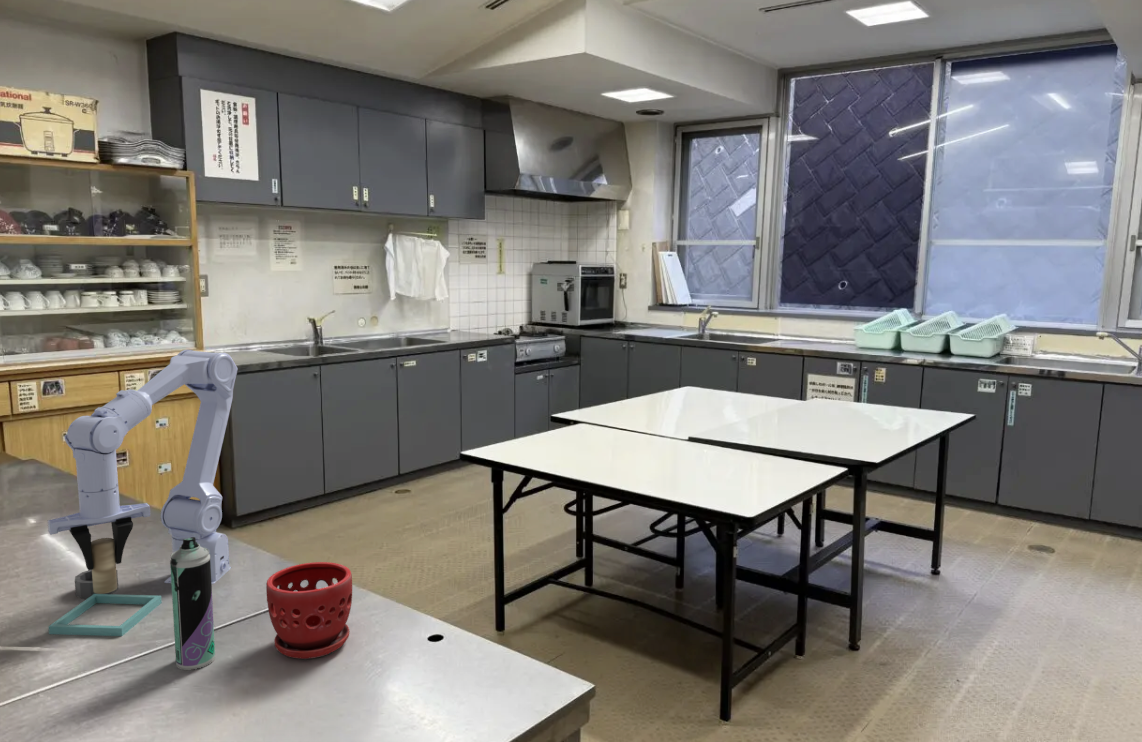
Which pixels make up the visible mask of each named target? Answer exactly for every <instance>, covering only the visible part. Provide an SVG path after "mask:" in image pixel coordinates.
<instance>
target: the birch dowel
mask: <svg viewBox="0 0 1142 742" xmlns="http://www.w3.org/2000/svg"><path fill="white" fill-rule="evenodd" d="M91 554H92V560H93V569H92V578H93V592H94V593H96V594H104V593H109V592H112V591H114V590H116V589H117V573H118V572H117V573H116V570H117V564H116V558H115V543H114V539H113V538H112V537H101V538H97V539H94V540H91ZM117 590H118V589H117ZM117 590H116V591H117Z"/></svg>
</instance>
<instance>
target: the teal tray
mask: <svg viewBox="0 0 1142 742" xmlns="http://www.w3.org/2000/svg"><path fill="white" fill-rule="evenodd" d="M162 601H163V600H162V595H154V594H153V595H150V594H149V595H146V594H118V593H117V594H114V593H112V594H93V595H92V596H90V597H89V598H88V599H84V600H83V601H82V602H80V603H79V604H78V605H76V606H75V607H74V608H72V609H70V610H69V611H68V612H66V613H65V614H64V615H62V616H60V618H58V619H56V620H55V621H54V622H52V623H51V624H50V625H48V626H47V628H48V635H73V636H74V635H75V636H98V637H99V636H101V637H103V636H104V637H123V636H124V635H126V634H127V633H128V632H129V631H130V630H131V629H132V628H134V627H135V626H136V625H137V624H139V622H141V621H142V620H143V619H145V617H147V616H148V615H149V614H150V613H152V612H153V610H155V609H156V608H158V607H159V606H160V605H161V604H162ZM96 604H113V605H114V604H117V605H119V604H120V605H143V606H142V607H141V608H140V609H139V610H137V611H136V612H134V614H132V615H131V616H130V617H129V618H128V619H126V620H125V621H124V622H122V624H120V625H104V624H103V625H101V624H100V625H99V624H97V625H96V624H70V623H72V622H73V621H74V620H76V619H77V618H78V617H80V616H81V615H82V614H84V613H85V612H86V611H89V609H90V608H91V607H93V606H94V605H96Z"/></svg>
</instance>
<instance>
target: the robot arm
mask: <svg viewBox="0 0 1142 742" xmlns="http://www.w3.org/2000/svg"><path fill="white" fill-rule="evenodd" d="M238 370H239V369H238V366H237V364H236V363H235V361H234V360H233V358H232V356H231V355H230V354H229V353H227V352H221V351H220V352H212V351H211V352H210V351H200V350H193V349H183V350H181V351H180V352H179V353H177V355H174V356H172V357H171V358H170V360H169V363H168V364H167V366H165V367H164V368H163V369H162V370H160V371H159V372H158V373H157V374H156V375H155V376H153V377H152V378H150V380H149V381H147V382H146V383H144V384H143V385H142V386H141V387H140V388H139V389H137V390H135V389H132V388H131V389H127V390H123V389H121V390H119V391H118V392H117V393H115V397H114V398H113V399H111V400H110V401H109V402H107V403H105V404H104V405H103V406H101V407H100V406H98V407H97V408H96V409H94V412H92V414H91V415H82V416H79V417H77V418H75V419H74V420H73V421H72V422H71V423H70V425H69V426H68V428H67V434H65V435H64V441H65V443H66V445H67V446H68V447H69V448H70V449H71V450H72V457H73V459H74V460H75V464H76V465H75V467H76V481H77V491H78V492H77V494H78V504H79V505H78V507H79V511H78V512H75V513H73V514H68V515H65V516H61V517H56V518H52V519H48V520H47V529H48V530H47V531H48V534H49V535H50V536H52V535H56V534H59V533H61V532H67V531H69V532H70V534H71V535H72V537H73V538H74V540H75V542H76V543H77V545H78V546H79V549H80V551H81V553H82V556H83V559H84V562H85V567H86V569H87V571H88V570H92V569H93V560H92V554H91V542H92V535H91V532H90V529H89V527H93V526H94V527H95V526H99V525H103V524H109V523H111V529H112V537H113V539H114V543H115V558H116V565H120V564H122V560H123V559H122V557H123V554H124V553H123V552H124V549H125V545H126V542H127V540H128V538H129V535H130V534H131V532H132V530H133V527H134V522H133V521H132V519H136V518H141V517H143V518H148V517H151V507H150V505H149V504H148V503H147V502H145V503H136V504H126V505H125V504H123V505H120V493H119V492H120V491H119V489H120V488H119V479H118V478H119V476H118V463H117V461H118V459H117V450H118V449H119V448H120V447H121V445H122V444H123V441H124V438H125V436H126V435H127V434H128V432H129V431H131V430H133V428H135V427H136V426H137V425H139V424H141V422H142V421H144V420H145V419H147V418H148V417H149V416H151V414H152V410H153V409H152V408H153V407H152V406H153V405H155V404H157V402H159V401H161V400H162V399H164V398H165V397H167V396H168V395H170V394H172V393H173V392H175V391H176V390H178V389H179V388H181V387H183V386H184V385H185V386H186V387H187V388H188V389H189V390H191V392H192V393H194V394H195V395H196V396H197V398H198V399H199V400H200V401H199V402H200V405H199V410H198V412H197V417H196V422H195V426H194V430H193V435H192V440H191V443H190V447H189V452H188V456H187V460H186V464H185V468H184V471H183V477H182V481H181V482H180V483H177V485H175V486H173V488H171V489H170V490H169V494H168V497H167V498H166V499H167V500H166V501H165V502H164V504H163V506H162V508H161V511H160V521H161V524H162V525H163V527H165V528H166V529H168V534H169V535H171V549H172V550H171V551H172V553H174V552H176V551H177V550H179V547H180V546H181V545H182V544H183V539H188V538H191V537H195V539H196V542H197V544H200V547H203V548H207V549H208V550H209V555H210V562H211V583H212V585H214V584H216V582H217V581H219V580H220V579H221V578H222V577H223V576H224V575H226V574H227V572H229V571H230V570H231V568H232V567H231V565H230V550H229V549H230V548H229V547H230V546H229V538H228V536H227V535H226V534H225V533H221V532H217V529H218V528H219V526H220V524H221V523H222V518H223V512H222V511H223V510H222V501H223V496H222V494H221V493H220V492H219V491H218V489H217V488H216V487H215V486H214V482H215V477H216V473H217V469H218V466H219V465H218V464H219V460H220V456H221V451H222V447H223V443H224V438H225V433H226V429H227V427H228V426H227V425H228V421H229V416H230V411H231V408H232V407H231V406H232V403H233V396H234V387H235V381H236V378H237V374H238ZM193 498H194V499H193ZM195 498H196V499H195ZM163 582H164V583H165V584H171V576H169V577H168V578H167V579H165V581H163Z"/></svg>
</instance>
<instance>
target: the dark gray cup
mask: <svg viewBox="0 0 1142 742" xmlns="http://www.w3.org/2000/svg"><path fill="white" fill-rule="evenodd" d="M116 573H117V589H116V590H114V591H112V592H109V593H104V594H114V593H115V592H117V591H118V590H119V575H118V569H116ZM74 591H75V597H77V598H79V599H84V600H86V599H88V598H89V597H90V596H92V595H93V594H96V593H94V592H93V578H92V570H88V569H87V570H85V571H81V572H80V573H78V574H76V575H75V577H74Z"/></svg>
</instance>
